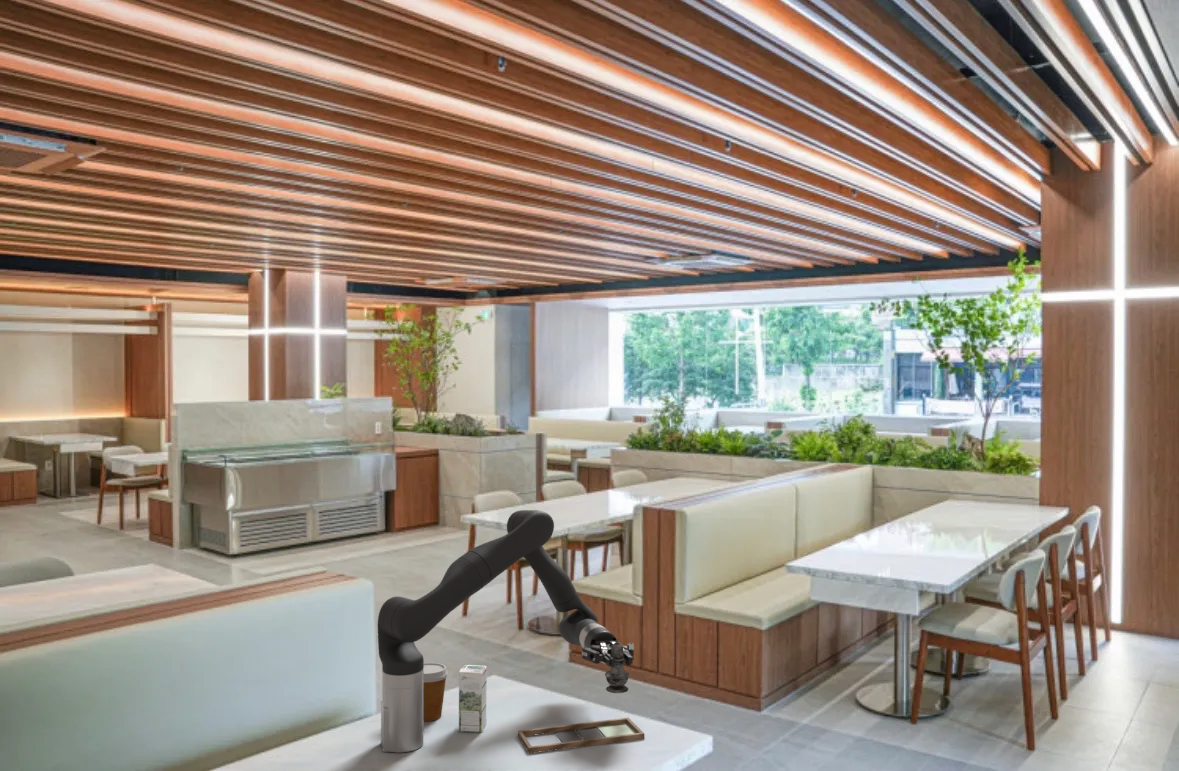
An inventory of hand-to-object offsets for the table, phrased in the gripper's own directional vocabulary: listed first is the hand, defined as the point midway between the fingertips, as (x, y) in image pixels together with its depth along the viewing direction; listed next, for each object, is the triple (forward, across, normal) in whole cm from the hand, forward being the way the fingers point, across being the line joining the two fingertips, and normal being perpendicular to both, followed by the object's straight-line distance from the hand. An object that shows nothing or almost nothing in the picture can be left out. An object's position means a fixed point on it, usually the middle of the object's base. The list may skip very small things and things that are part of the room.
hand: (621, 662), depth 208 cm
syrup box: (-16, -32, +18) cm, 40 cm away
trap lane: (-3, -9, +17) cm, 20 cm away
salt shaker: (-3, 0, +8) cm, 8 cm away
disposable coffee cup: (-27, -41, +18) cm, 52 cm away
